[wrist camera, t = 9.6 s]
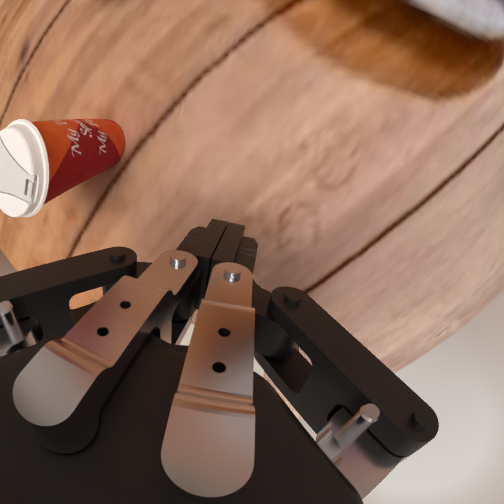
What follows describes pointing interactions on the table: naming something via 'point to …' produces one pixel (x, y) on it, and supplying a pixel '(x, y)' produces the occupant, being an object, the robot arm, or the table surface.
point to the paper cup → (53, 159)
